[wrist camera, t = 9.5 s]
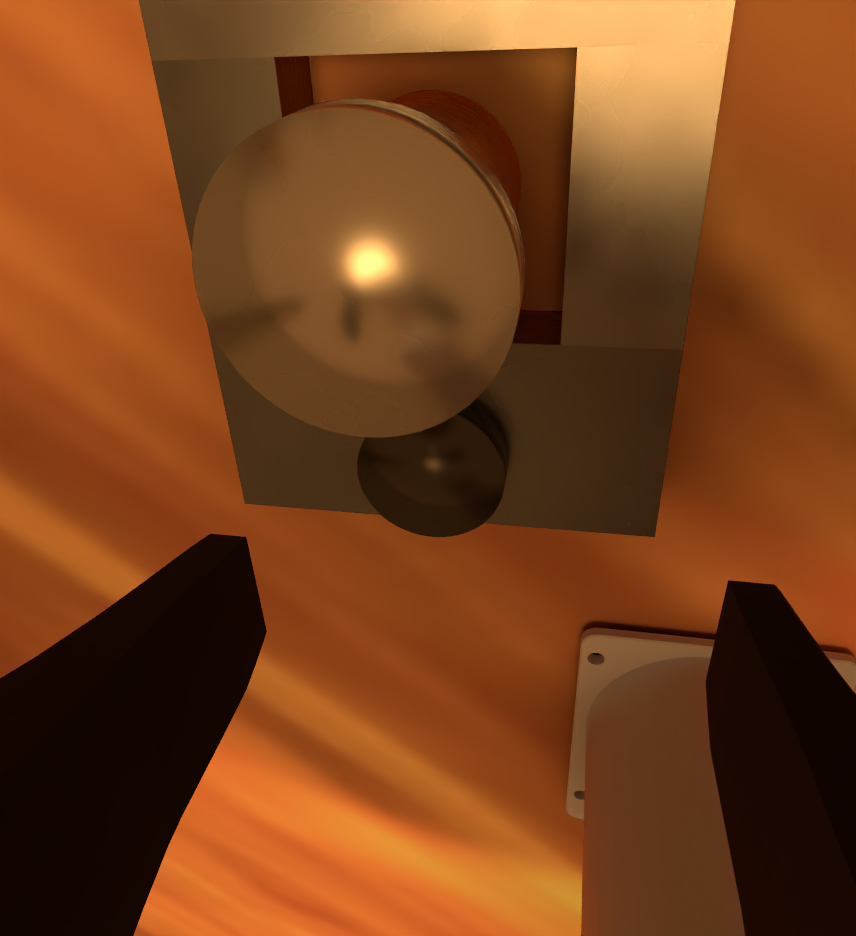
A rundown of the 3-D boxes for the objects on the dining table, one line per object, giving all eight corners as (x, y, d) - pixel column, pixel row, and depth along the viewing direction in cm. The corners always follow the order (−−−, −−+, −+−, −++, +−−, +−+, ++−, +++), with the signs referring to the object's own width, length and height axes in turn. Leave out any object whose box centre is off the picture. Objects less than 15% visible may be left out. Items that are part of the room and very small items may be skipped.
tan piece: (650, 492, 21) (656, 562, 18) (270, 464, 23) (230, 525, 20) (767, -334, 12) (808, -411, 10) (138, -260, 14) (40, -309, 12)
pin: (541, 299, 18) (514, 448, 13) (336, 291, 19) (223, 426, 14) (554, 56, 16) (527, 107, 10) (313, 60, 17) (159, 109, 11)
